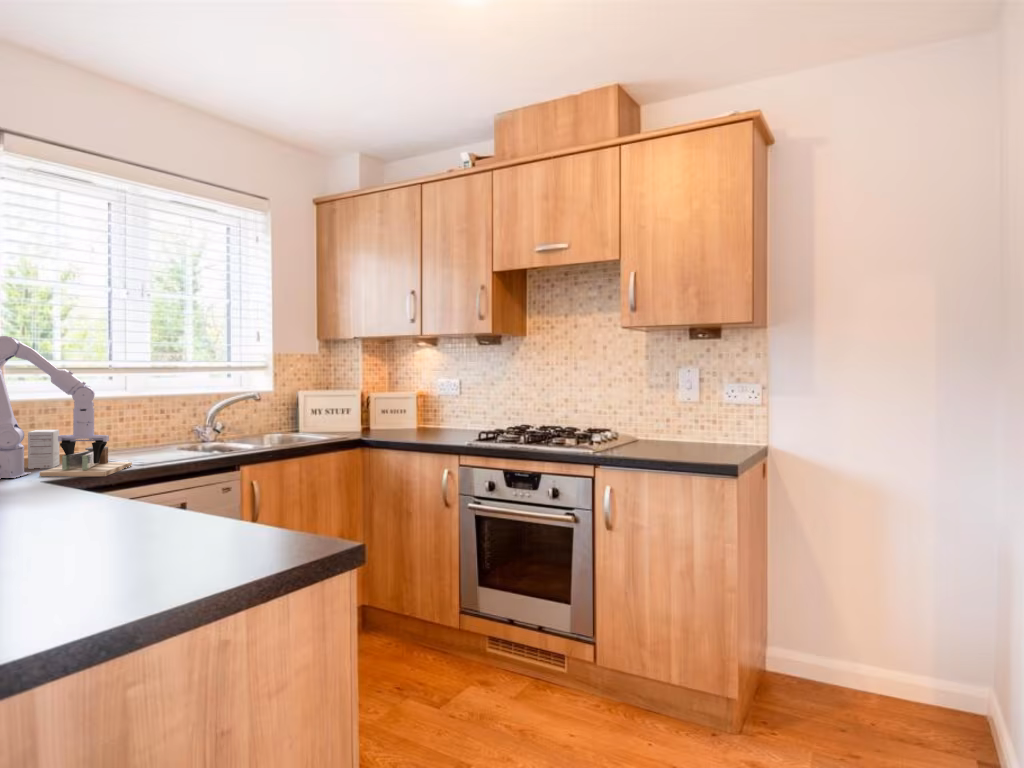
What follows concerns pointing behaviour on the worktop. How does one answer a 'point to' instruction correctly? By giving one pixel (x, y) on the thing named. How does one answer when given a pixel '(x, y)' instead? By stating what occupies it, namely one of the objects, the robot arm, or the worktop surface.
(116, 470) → the tong board
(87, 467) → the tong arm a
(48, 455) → the supplement box
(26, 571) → the worktop surface
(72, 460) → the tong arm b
